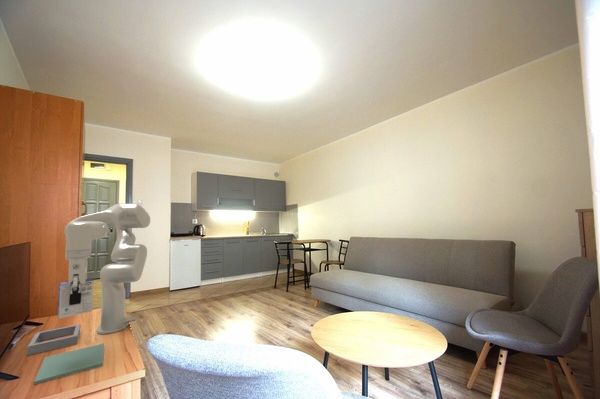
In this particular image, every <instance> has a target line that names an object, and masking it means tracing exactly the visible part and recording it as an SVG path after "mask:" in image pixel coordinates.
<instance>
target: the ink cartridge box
mask: <svg viewBox="0 0 600 399" xmlns="http://www.w3.org/2000/svg"><path fill="white" fill-rule="evenodd" d="M78 279H79V278H78ZM78 284H80V283H78ZM78 284H77V285H78ZM78 288H79V286H78ZM93 289H94V279H93V278H90V277H89V278H87V280H86V284H84V285H83V284H81V290H80V292H81V303H80V304H74V305H69V301H70V293H71V286H69V281H66V282H65V281H64V282H59V283H58V299H57V302H58V304H57V319H58V320H60V319H63V318H67V317H73V316H78V315H81V314H86V313H90V312H92V311H93V296H94V295H93V294H94V292H93V291H94V290H93ZM78 290H79V289H78Z"/></svg>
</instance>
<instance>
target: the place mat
mask: <svg viewBox="0 0 600 399" xmlns="http://www.w3.org/2000/svg"><path fill="white" fill-rule="evenodd" d="M104 348H105V343H99V344H95V345H91V346H87V347H82V348H79V349H74V350H70V351H65V352H62V353H57V354H54V355H53V354H52V355H49V356H46V357H44V359H43V361H42V364H41V366H40V368H39V370H38V373H37V374H36V376H35V378H34V380H33V386H35V385H38V384H43V383H46V382H49V381H48V380H50V381H53V380H56V378H57V379H61V378H63V376H64V377H67V376H70V374H71V375H74V374H73V373H75V374H77V373H76V372H78V373H81V372H80V371H82V372H85V371H89V370H92V369H96V368H99V367H102V366H103V363H104ZM84 370H85V371H84ZM66 375H67V376H66ZM52 379H53V380H52ZM45 381H46V382H45Z"/></svg>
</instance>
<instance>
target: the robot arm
mask: <svg viewBox="0 0 600 399" xmlns="http://www.w3.org/2000/svg"><path fill="white" fill-rule="evenodd" d="M150 224H151V216H150V214H149V213H148V212H147V210H146V209H145V208H144V207H143V206H142V205H140V204H138V203H116V204H114V205H111V206H110V207H108V208H107V209H105V210H103V211H98V212H94V213H90V214H86V215H82V216H78V217H77V218H75V219H73V220H71V221H70V222H68V223H67V224H66V226H65V227H64V231H63V233H64V236H65V254H64V256H65V257H64V258H65V260H66V261H67V260H68V282H69V286H71V293H70V301H69V305H74V304H80V303H81V292H80V290H81V284H83V285H84V284H86V280H87V279H88V267H89V266H88V264H89V262H88V259H89V258H91V257H92V240H101V239H103V238H105V237H107V235H108V234H109V232H110V228H113V227H114V228H115V231H116V234H117V235H116V237H117V238H116V240H115V243H114V246H113V249H112V252H111V255H110V260H111V262H113V263H108V264H105V265H104V266H103V267H102V268H100V272H99V278H100V284H101V307H100V308H101V309H100V326H98V327H97V328H96V330H95V332H96V334H99V335H108V334H109V335H110V334H114V333H117V332H120V331H123V330H124V329H126V328H128V326H129V323H130V322H135V321H136V316H128V317H127V316H126V314H125V312H126V311H125V310H126V289H125V286H124V285H123V284H124V283H135V282H139V280H141V278H142V275H143V272H144V269H145V264H146V261H147V257H148V248H147V246H146V245H144V244H140V243H136V240H137V239H136V235H135V233H134V232H132V230H131V229H145V228H146V229H147V227H149V226H150ZM78 278H79V279H78ZM78 283H80V284H78ZM122 283H123V284H122ZM77 284H78V285H77ZM78 286H79V288H78ZM78 289H79V290H78Z"/></svg>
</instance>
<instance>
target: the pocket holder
mask: <svg viewBox="0 0 600 399" xmlns="http://www.w3.org/2000/svg"><path fill="white" fill-rule="evenodd" d="M81 326H82V325H81V323H78V324H73V325H68V326H63V327H59V328H54V329H48V330H43V331H39V332H35V334H34V335H33V337H32V338H31V340H30V342H29V344H28V345H27V347H26V348H27V349H26V351H27V353H26V356H32V355H36V354H39V353H43V352H48V351H53V350H54V351H55V350H58V349H62V348H66V347H69V346H70V347H71V346H74V345H77V344H78V341H79V338H80V334H81ZM50 339H51V340H50ZM45 340H46V341H45ZM41 341H42V342H41Z"/></svg>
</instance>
